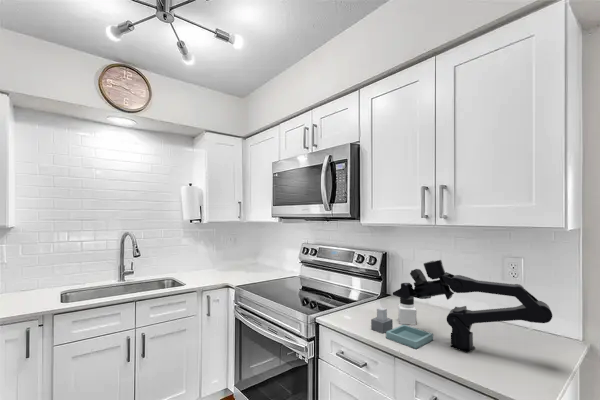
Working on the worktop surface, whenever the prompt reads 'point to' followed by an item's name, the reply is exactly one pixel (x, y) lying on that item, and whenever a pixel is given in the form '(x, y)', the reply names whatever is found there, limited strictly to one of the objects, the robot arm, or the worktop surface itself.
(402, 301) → the medicine bottle
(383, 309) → the grey tabbed block
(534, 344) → the worktop surface
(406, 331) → the tray
